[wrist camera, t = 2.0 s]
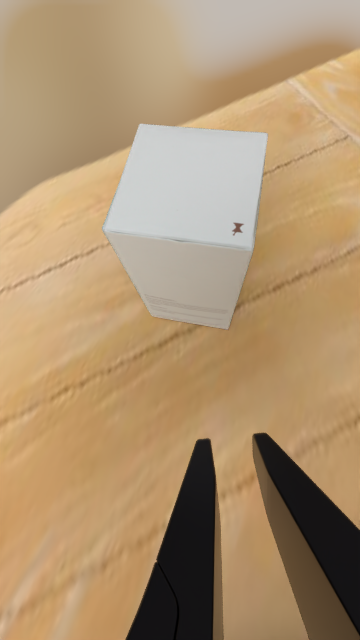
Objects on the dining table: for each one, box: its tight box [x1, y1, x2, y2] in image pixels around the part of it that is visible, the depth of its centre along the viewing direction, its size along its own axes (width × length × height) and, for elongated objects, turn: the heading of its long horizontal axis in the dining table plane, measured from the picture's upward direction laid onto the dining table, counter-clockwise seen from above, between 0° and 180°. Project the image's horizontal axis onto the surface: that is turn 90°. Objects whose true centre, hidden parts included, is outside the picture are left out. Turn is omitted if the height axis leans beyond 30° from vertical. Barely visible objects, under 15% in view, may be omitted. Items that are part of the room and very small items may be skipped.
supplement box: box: [102, 124, 268, 330], centre depth 19 cm, size 7×7×13 cm
